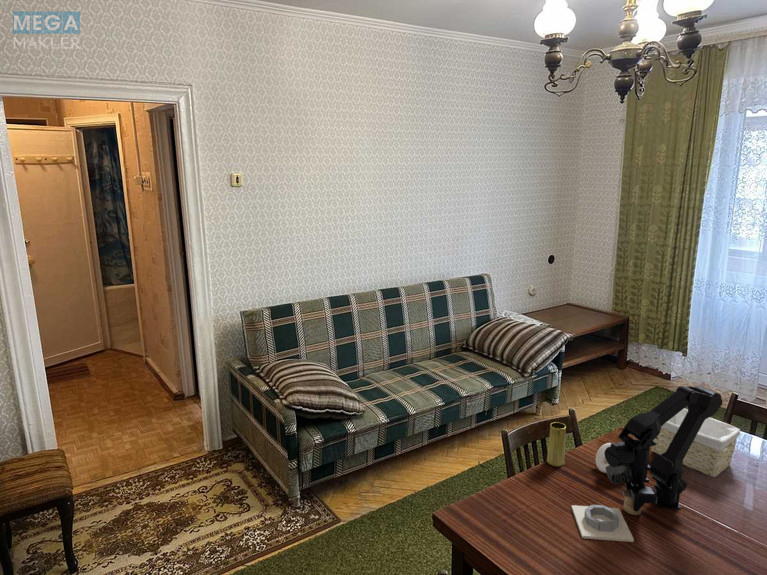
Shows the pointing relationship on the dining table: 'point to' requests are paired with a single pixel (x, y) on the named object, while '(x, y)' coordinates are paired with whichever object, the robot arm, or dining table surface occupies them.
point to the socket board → (601, 523)
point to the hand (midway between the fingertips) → (632, 505)
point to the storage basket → (702, 444)
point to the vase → (556, 444)
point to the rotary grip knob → (629, 503)
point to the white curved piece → (602, 458)
